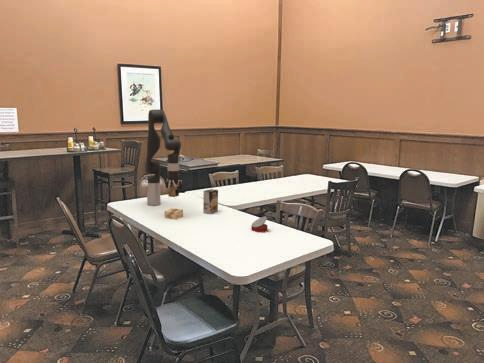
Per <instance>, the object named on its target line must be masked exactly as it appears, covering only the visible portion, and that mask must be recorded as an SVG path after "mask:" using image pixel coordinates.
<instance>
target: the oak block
mask: <svg viewBox="0 0 484 363" xmlns="http://www.w3.org/2000/svg"><path fill="white" fill-rule="evenodd" d="M182 217H184V209H180V208H179V209H178V208H170V209H167V210H165V211H164V219H167V220H168V219H169V220H178V219H181V218H182Z"/></svg>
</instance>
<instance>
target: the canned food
mask: <svg viewBox="0 0 484 363" xmlns="http://www.w3.org/2000/svg"><path fill="white" fill-rule="evenodd" d="M266 221H267V216H262V217H259V218H258V219H256V220H254V221H253V222H252V223H251V225H250V226H251V227H250V228H251V231H252V232H254V231H255V232H256V233H265V231H266V232H267V231H268V224H266ZM255 232H254V233H255Z"/></svg>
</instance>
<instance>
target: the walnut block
mask: <svg viewBox="0 0 484 363" xmlns="http://www.w3.org/2000/svg"><path fill="white" fill-rule="evenodd" d="M167 191H168V192H167V193H168V194H167V195H168V197H170V198H176V197H179V196H180V193H179V194H178V195H176V189H175V187H174V185H172V187H168V188H167Z"/></svg>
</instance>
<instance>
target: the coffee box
mask: <svg viewBox="0 0 484 363" xmlns="http://www.w3.org/2000/svg"><path fill="white" fill-rule="evenodd" d="M202 197H203V200H202V201H203V203H202V204H203V208H202V210H203V214H207V215H211V214H215V213H218V212H219V189H206V190H203V196H202Z"/></svg>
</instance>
